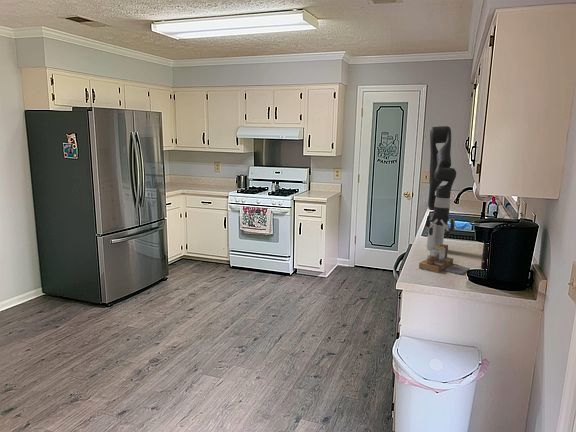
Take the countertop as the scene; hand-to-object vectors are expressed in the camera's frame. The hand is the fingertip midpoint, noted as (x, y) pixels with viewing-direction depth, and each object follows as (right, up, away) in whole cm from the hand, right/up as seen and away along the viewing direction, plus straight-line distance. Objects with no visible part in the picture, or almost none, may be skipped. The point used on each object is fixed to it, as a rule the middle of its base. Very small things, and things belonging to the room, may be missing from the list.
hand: (438, 236), depth 226 cm
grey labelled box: (0, -12, +2) cm, 13 cm away
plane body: (0, -16, +3) cm, 16 cm away
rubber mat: (+8, -17, -4) cm, 20 cm away
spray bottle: (+26, -18, -2) cm, 32 cm away
